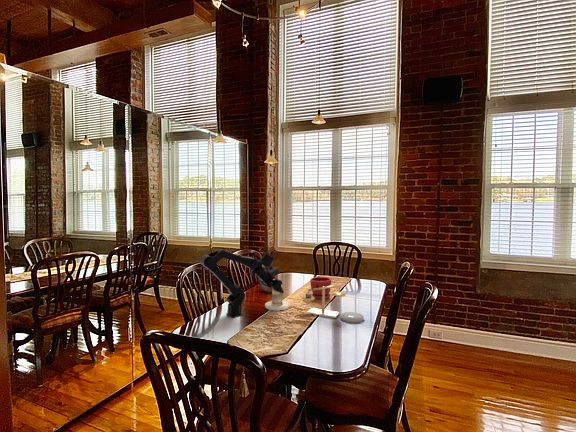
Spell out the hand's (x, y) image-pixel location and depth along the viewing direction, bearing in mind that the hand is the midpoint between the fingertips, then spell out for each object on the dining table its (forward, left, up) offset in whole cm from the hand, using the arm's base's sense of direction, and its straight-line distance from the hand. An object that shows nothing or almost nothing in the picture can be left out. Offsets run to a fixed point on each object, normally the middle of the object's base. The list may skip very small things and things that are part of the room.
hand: (279, 290), depth 202 cm
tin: (+18, +26, -10) cm, 33 cm away
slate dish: (+15, -41, -9) cm, 44 cm away
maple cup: (-1, 0, -8) cm, 8 cm away
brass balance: (+9, -26, -9) cm, 29 cm away
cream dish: (-1, 0, -9) cm, 9 cm away
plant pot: (+32, -5, -10) cm, 34 cm away
